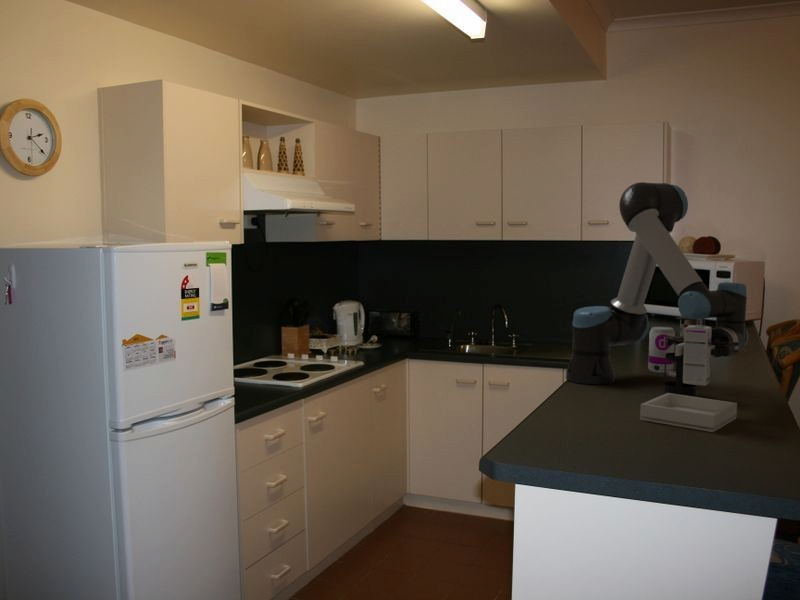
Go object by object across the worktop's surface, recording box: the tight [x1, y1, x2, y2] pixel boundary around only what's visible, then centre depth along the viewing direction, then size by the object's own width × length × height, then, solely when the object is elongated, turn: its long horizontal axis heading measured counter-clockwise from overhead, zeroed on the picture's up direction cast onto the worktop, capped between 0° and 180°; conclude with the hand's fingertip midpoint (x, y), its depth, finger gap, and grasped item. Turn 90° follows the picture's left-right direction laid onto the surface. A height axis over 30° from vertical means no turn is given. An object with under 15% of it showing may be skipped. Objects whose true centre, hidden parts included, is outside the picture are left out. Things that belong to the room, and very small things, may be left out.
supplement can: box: [647, 326, 676, 374], centre depth 258 cm, size 8×8×15 cm
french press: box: [662, 316, 698, 397], centre depth 219 cm, size 12×9×23 cm
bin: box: [639, 393, 738, 433], centre depth 192 cm, size 18×18×4 cm
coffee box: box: [679, 314, 706, 336], centre depth 297 cm, size 9×6×16 cm
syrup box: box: [683, 325, 713, 386], centre depth 191 cm, size 6×6×14 cm
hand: (690, 352), depth 187 cm, fingers closed on syrup box, 6 cm apart
